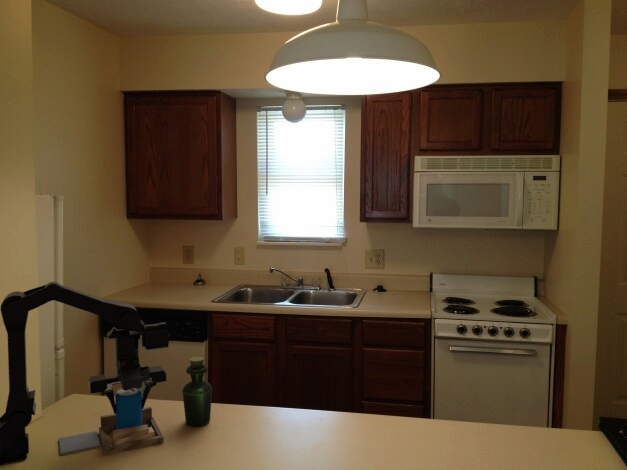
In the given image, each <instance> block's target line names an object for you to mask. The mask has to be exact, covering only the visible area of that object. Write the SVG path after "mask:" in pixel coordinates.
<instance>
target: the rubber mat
mask: <svg viewBox="0 0 627 470" xmlns="http://www.w3.org/2000/svg"><path fill="white" fill-rule="evenodd" d="M58 441H59V451H60V456H64V455H68V454H74V453H78V452H79V453H80V452H83V451H87V450H93V449H98V448H101V446H102V445H101V442H100V441H101V440H100V437H99V433H98V431H97V430H93V431H90V432H84V433H79V434H74V435H70V436H69V435H68V436H63V437H59V438H58Z"/></svg>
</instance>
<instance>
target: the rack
mask: <svg viewBox="0 0 627 470" xmlns="http://www.w3.org/2000/svg"><path fill="white" fill-rule="evenodd" d="M142 425H148V426H149V425H150V427H152V429H153V430H154V434H155V437H151V438H146V439H142V440H137V441H132V442H128V443H123V444H118V445H114V446H111V445H110V446H109V443H108V440H107V435H106V434H109V433H113V430H116V414H114V413H111V414H105V415H100V426H99V427H98V436H99V439H100V441H101V442H100V443H101V446H102V450H103V453H104V456H110V455H112V454H117V453H120V452H125V451H130V450H136V449H139V448H140V449H141V448H144V447H147V446H148V447H149V446H153V445H158V444H164V443H165V438H164V435H163V433H162V431H161V429H160V427H159V426H158V424H157V421H156V420H155V418H154V417H153V409H152V406H148V407H144V408H143V409H142Z"/></svg>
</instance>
